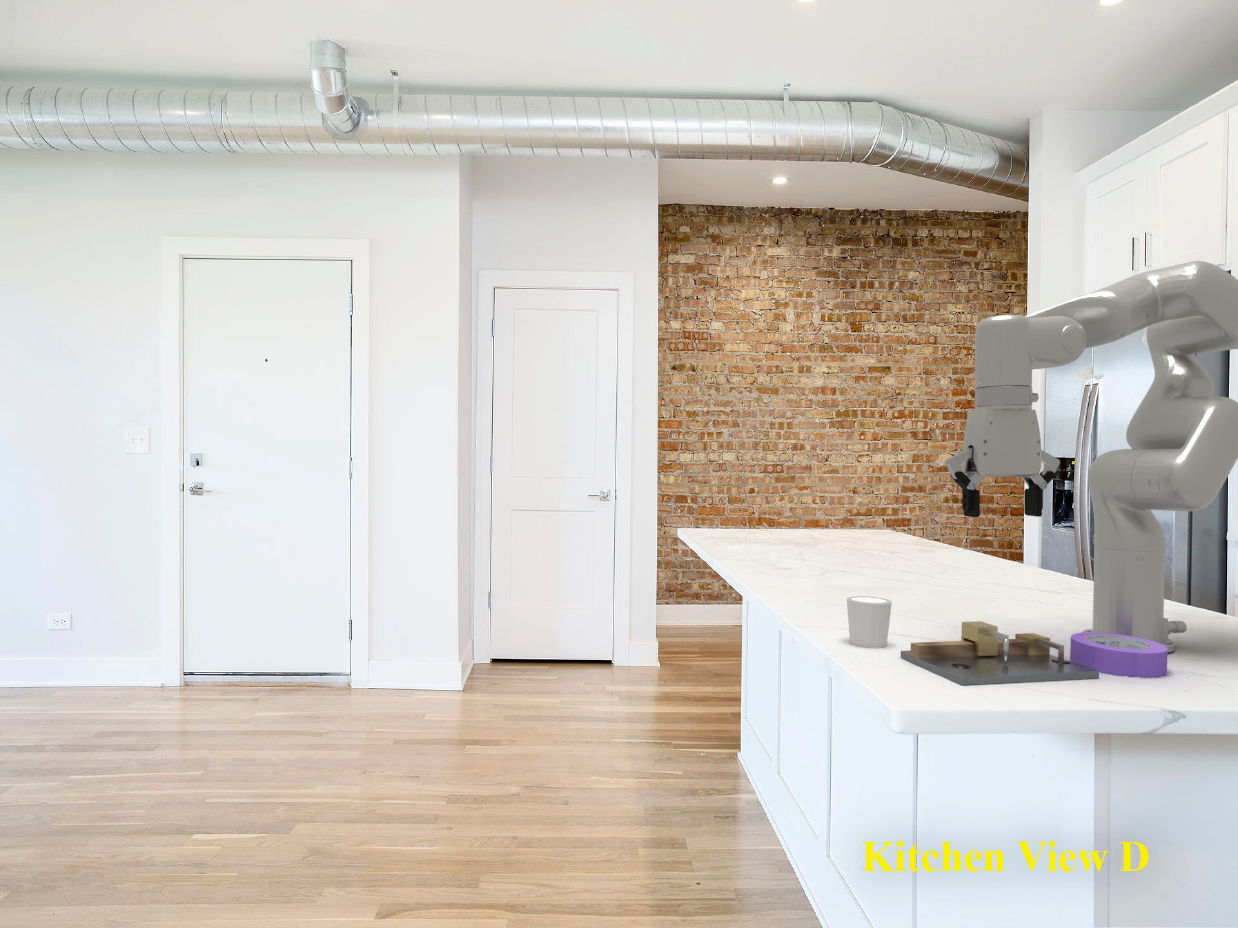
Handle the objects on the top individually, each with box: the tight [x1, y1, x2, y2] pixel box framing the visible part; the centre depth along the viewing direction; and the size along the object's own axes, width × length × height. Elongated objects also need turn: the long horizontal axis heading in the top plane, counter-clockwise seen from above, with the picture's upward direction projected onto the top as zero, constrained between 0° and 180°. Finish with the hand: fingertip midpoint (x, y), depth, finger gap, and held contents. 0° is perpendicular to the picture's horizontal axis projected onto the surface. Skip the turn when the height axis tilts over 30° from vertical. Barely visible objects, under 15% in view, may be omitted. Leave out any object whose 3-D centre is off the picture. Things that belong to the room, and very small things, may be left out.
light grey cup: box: [846, 595, 893, 649], centre depth 121 cm, size 7×7×7 cm
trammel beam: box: [910, 632, 1065, 661], centre depth 109 cm, size 21×7×2 cm, turn 102°
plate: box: [900, 649, 1100, 686], centre depth 108 cm, size 21×14×1 cm, turn 102°
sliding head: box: [960, 620, 1010, 661], centre depth 109 cm, size 3×8×4 cm, turn 12°
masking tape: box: [1069, 632, 1169, 679], centre depth 109 cm, size 12×12×4 cm
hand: (1002, 516), depth 113 cm, fingers open, 9 cm apart
